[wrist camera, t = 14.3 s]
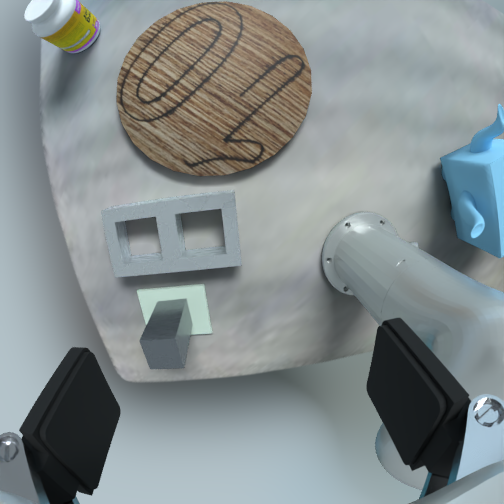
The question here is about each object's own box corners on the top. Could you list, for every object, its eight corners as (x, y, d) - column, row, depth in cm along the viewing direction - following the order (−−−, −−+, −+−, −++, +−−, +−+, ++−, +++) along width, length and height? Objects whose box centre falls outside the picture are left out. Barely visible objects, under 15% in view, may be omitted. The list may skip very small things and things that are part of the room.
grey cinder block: (234, 189, 36) (234, 192, 33) (240, 256, 39) (241, 265, 36) (111, 206, 36) (100, 211, 32) (123, 268, 38) (115, 277, 35)
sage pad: (204, 283, 40) (203, 285, 39) (212, 331, 43) (212, 333, 42) (138, 289, 40) (136, 291, 39) (150, 334, 42) (149, 336, 42)
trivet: (342, 74, 32) (347, 71, 31) (231, 213, 38) (231, 216, 36) (200, -16, 26) (198, -22, 25) (89, 114, 32) (83, 113, 30)
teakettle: (474, 249, 42) (528, 277, 28) (411, 213, 39) (476, 241, 25) (500, 160, 37) (557, 170, 23) (442, 108, 34) (508, 101, 20)
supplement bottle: (108, 32, 27) (68, -4, 15) (73, 62, 28) (24, 38, 16) (92, 10, 25) (54, -25, 13) (59, 38, 26) (13, 13, 14)
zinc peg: (186, 298, 40) (175, 338, 30) (192, 324, 41) (184, 367, 32) (157, 301, 40) (139, 340, 30) (164, 326, 41) (150, 369, 32)
